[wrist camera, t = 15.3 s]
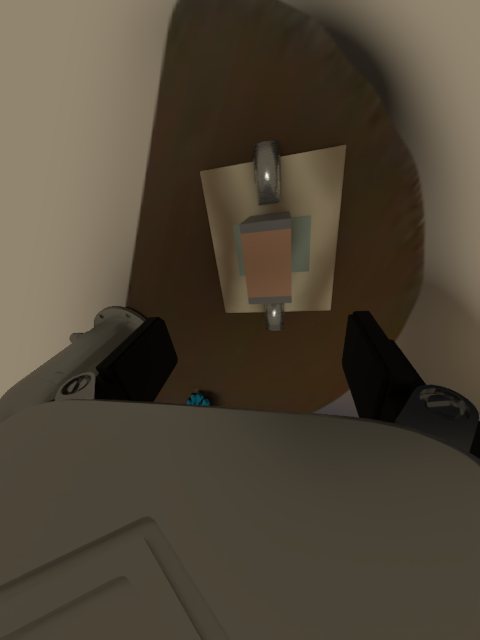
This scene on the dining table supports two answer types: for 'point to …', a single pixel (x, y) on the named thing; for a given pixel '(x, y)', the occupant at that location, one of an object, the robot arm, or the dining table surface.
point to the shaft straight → (267, 172)
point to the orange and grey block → (267, 257)
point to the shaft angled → (274, 316)
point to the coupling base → (306, 224)
